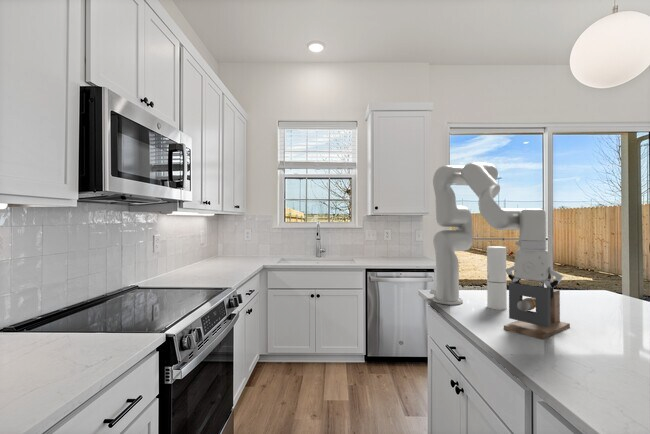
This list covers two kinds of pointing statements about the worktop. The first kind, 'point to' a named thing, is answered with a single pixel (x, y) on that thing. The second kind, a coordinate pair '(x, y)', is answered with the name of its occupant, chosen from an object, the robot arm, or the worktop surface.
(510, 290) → the dark grey square plate
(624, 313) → the worktop surface
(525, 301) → the pipe mount
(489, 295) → the cylindrical container
